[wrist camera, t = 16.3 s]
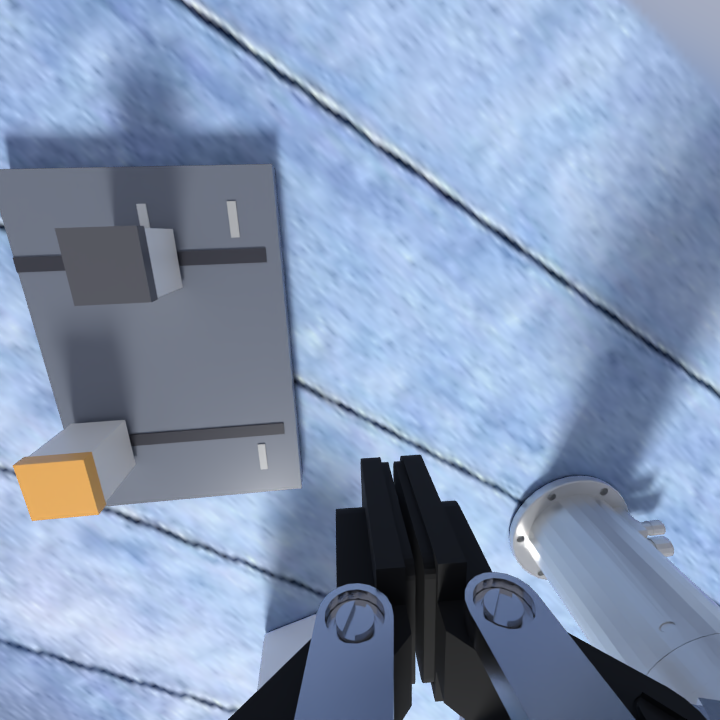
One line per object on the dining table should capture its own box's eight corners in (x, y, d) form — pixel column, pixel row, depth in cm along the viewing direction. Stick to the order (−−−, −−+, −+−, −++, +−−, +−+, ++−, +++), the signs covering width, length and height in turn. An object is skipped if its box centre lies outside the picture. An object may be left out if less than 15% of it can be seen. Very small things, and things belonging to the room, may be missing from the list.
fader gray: (174, 227, 27) (136, 225, 22) (184, 288, 29) (151, 302, 23) (109, 229, 27) (54, 228, 21) (123, 291, 28) (74, 306, 22)
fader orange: (126, 418, 31) (83, 459, 25) (137, 465, 32) (98, 514, 27) (69, 422, 31) (12, 465, 25) (82, 469, 32) (31, 520, 26)
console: (274, 168, 29) (271, 163, 27) (302, 475, 37) (301, 488, 35) (10, 174, 27) (-14, 169, 25) (99, 493, 35) (86, 508, 33)
